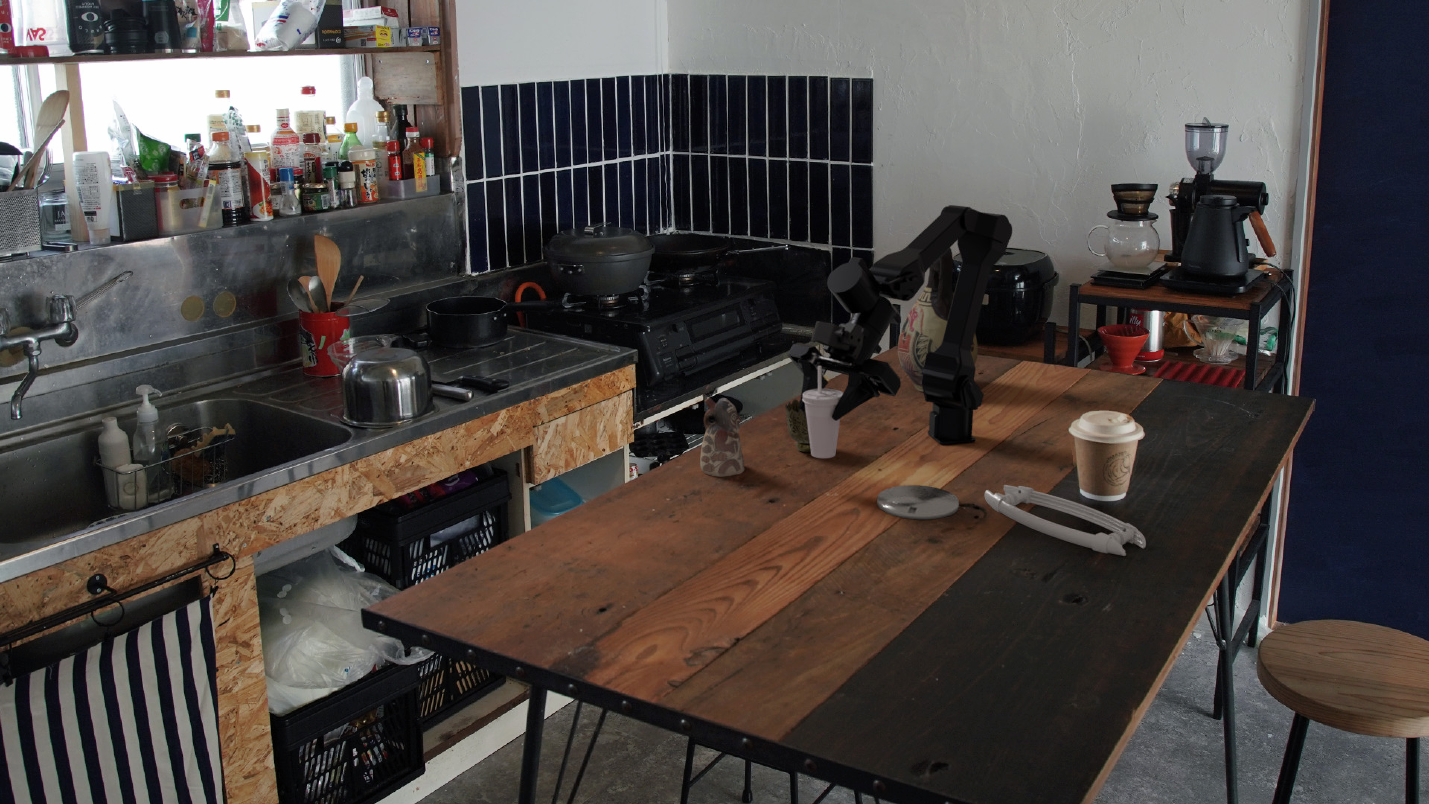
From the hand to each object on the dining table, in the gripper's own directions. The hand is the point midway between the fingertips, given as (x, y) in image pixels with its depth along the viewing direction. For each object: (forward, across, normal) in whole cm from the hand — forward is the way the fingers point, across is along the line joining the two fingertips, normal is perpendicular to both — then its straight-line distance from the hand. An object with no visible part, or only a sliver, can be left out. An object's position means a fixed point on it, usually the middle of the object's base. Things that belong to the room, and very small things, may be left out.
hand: (817, 414), depth 187 cm
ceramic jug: (-32, -20, +50) cm, 63 cm away
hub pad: (+4, +15, +13) cm, 20 cm away
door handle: (-1, +34, +19) cm, 39 cm away
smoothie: (+4, 0, +6) cm, 7 cm away
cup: (0, -14, +18) cm, 23 cm away
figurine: (+11, -17, +6) cm, 21 cm away
